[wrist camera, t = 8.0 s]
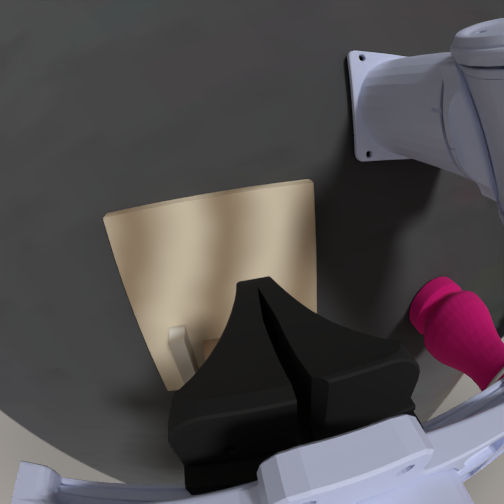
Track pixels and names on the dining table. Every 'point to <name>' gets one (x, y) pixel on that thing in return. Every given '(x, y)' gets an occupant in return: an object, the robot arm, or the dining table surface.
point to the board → (210, 263)
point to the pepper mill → (458, 331)
